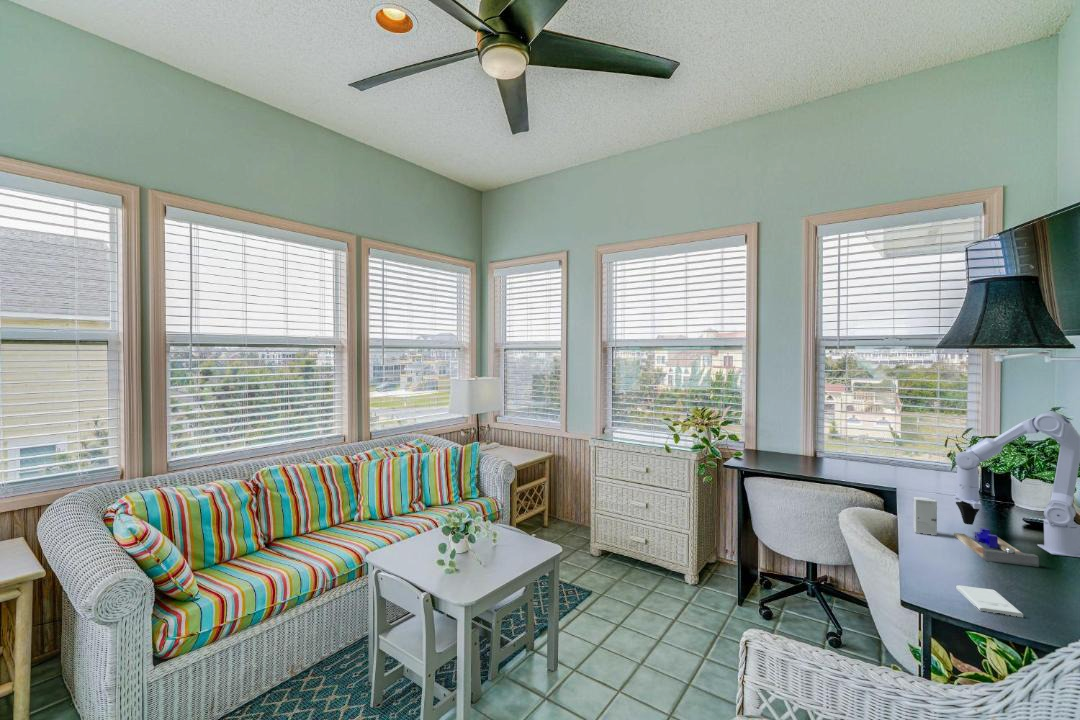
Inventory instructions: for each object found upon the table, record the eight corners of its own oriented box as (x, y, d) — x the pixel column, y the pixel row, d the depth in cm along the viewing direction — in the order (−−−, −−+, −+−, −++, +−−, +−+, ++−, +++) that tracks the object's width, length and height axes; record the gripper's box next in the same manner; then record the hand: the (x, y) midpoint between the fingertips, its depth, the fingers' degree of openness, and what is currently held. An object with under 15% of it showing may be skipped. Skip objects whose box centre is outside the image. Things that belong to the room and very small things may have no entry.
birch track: (998, 540, 160) (997, 536, 160) (1034, 564, 140) (1034, 560, 140) (953, 535, 164) (953, 532, 164) (983, 558, 145) (983, 554, 145)
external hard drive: (995, 596, 123) (1023, 619, 111) (956, 590, 126) (979, 613, 114) (995, 589, 123) (1023, 613, 112) (956, 584, 126) (979, 606, 114)
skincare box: (915, 533, 167) (915, 499, 167) (913, 529, 171) (912, 496, 171) (937, 536, 164) (937, 501, 164) (934, 532, 168) (934, 498, 168)
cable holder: (974, 539, 161) (974, 527, 162) (988, 540, 160) (988, 528, 160) (983, 547, 154) (983, 534, 154) (997, 549, 153) (997, 536, 153)
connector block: (1034, 564, 140) (1034, 550, 141) (1038, 567, 139) (1038, 552, 139) (983, 558, 145) (983, 544, 145) (986, 561, 143) (986, 547, 143)
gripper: (944, 479, 175) (945, 516, 175) (962, 489, 162) (963, 529, 162) (969, 481, 172) (969, 518, 172) (989, 491, 159) (989, 531, 159)
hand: (968, 523), depth 167 cm, fingers closed
